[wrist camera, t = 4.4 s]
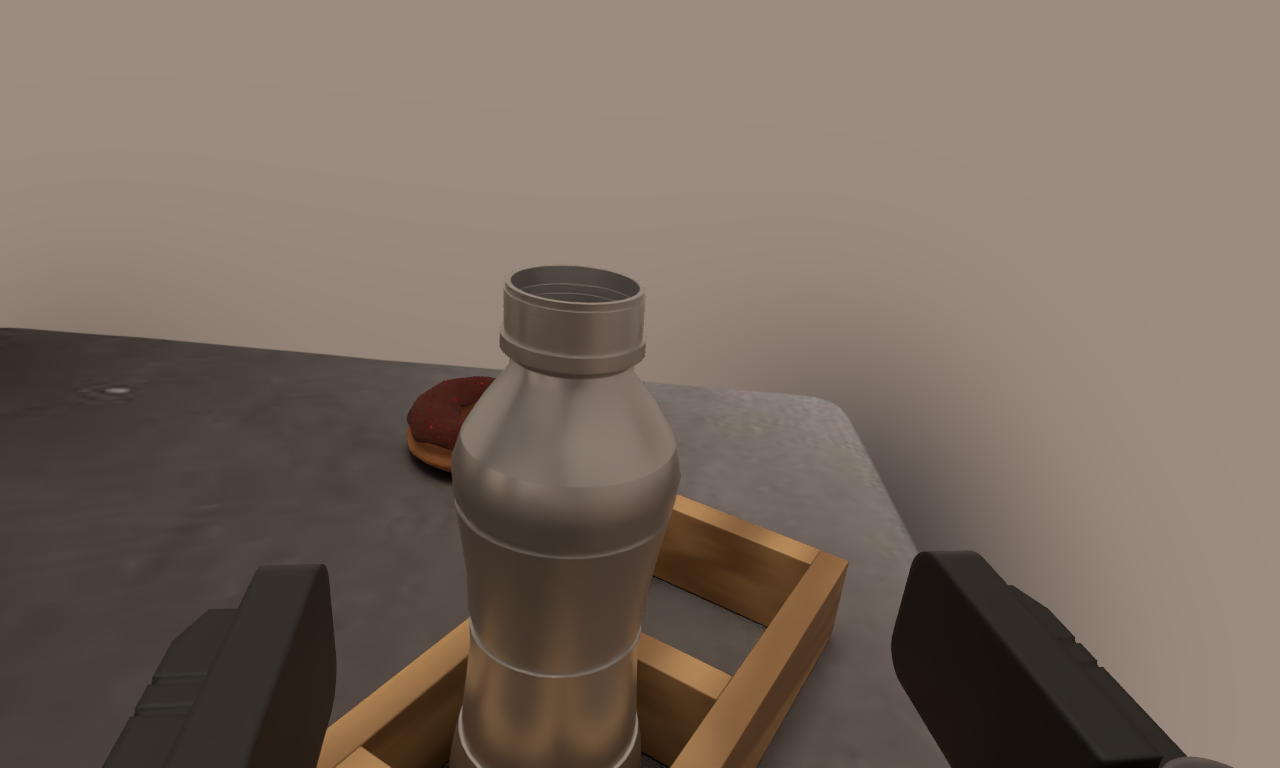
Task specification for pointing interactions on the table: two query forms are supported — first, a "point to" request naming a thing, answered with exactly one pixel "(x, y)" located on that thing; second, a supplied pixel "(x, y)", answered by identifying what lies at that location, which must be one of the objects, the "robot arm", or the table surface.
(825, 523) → the table surface
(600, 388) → the grey metal bottle
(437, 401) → the donut
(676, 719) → the caddy
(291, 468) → the table surface
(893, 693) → the table surface
